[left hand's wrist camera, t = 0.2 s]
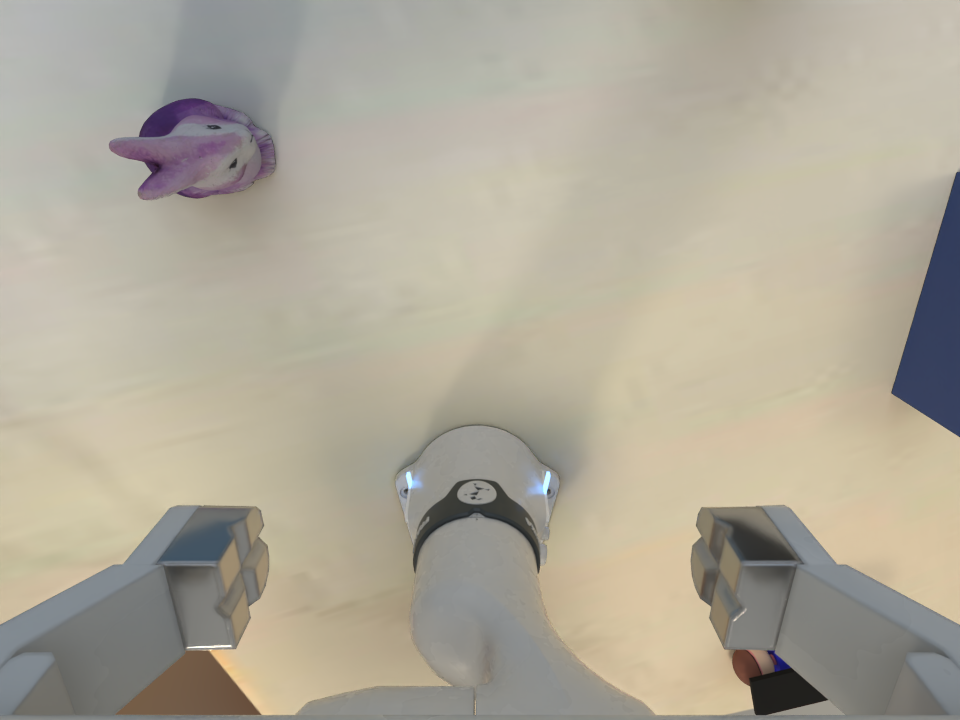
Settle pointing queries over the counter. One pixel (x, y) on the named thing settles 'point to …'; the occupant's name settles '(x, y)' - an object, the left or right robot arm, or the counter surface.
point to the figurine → (198, 150)
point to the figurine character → (773, 682)
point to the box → (937, 331)
